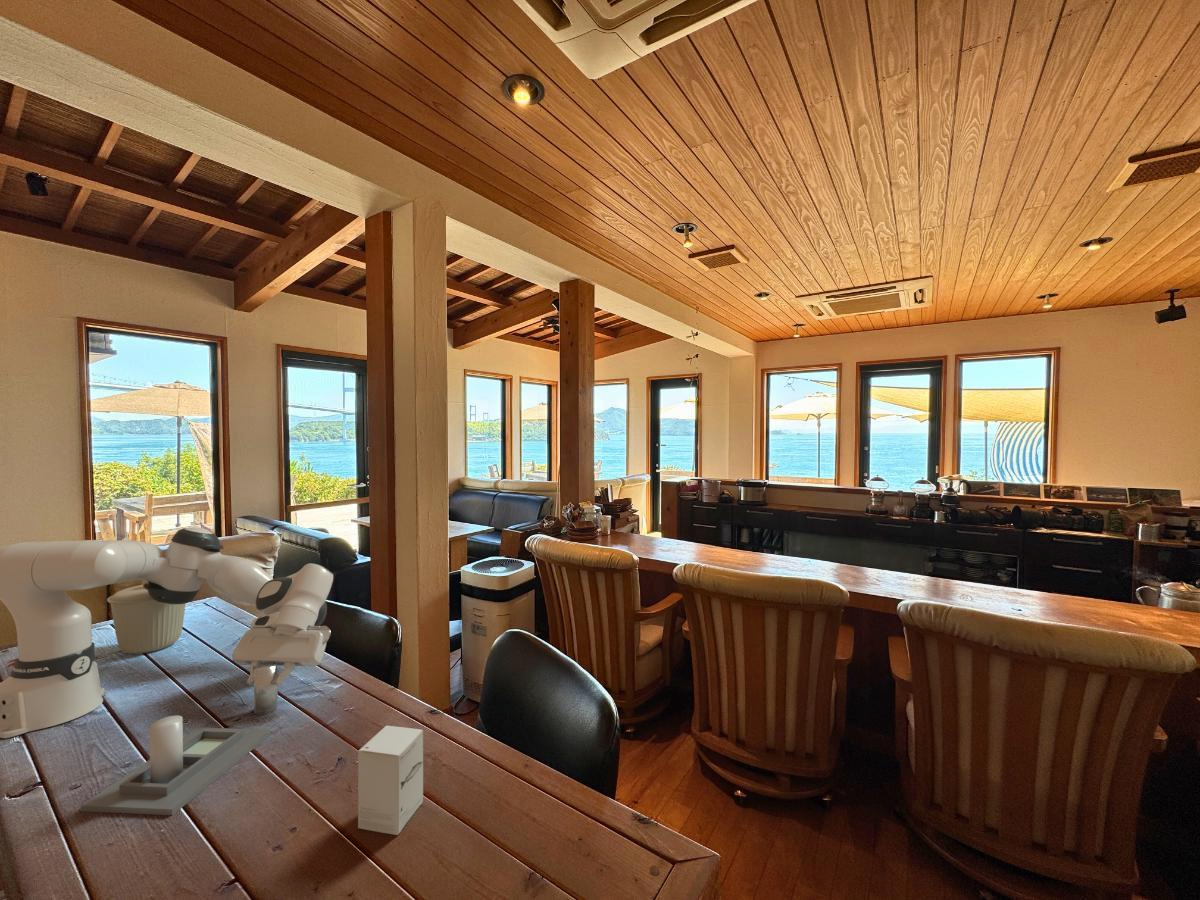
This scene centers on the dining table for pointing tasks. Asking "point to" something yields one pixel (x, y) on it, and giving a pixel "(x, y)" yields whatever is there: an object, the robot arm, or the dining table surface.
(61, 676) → the robot arm
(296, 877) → the dining table surface
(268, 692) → the cylinder
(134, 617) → the canister
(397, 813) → the supplement box
